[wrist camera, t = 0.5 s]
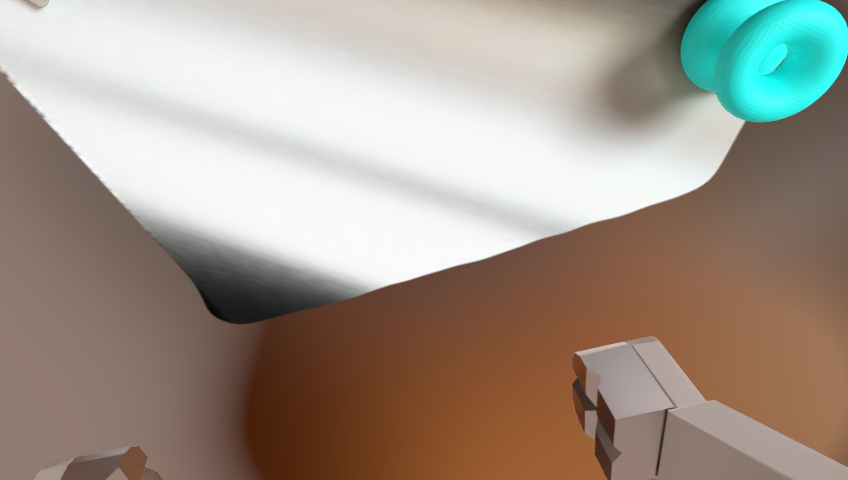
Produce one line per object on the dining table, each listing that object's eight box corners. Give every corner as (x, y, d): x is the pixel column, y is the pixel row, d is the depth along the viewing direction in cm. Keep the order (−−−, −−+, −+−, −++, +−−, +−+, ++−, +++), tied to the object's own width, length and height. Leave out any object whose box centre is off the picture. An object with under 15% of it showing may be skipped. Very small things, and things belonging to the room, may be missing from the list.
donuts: (790, 143, 46) (698, 103, 44) (734, 100, 54) (654, 65, 52) (887, 33, 40) (787, -20, 38) (809, 3, 48) (723, -41, 46)
